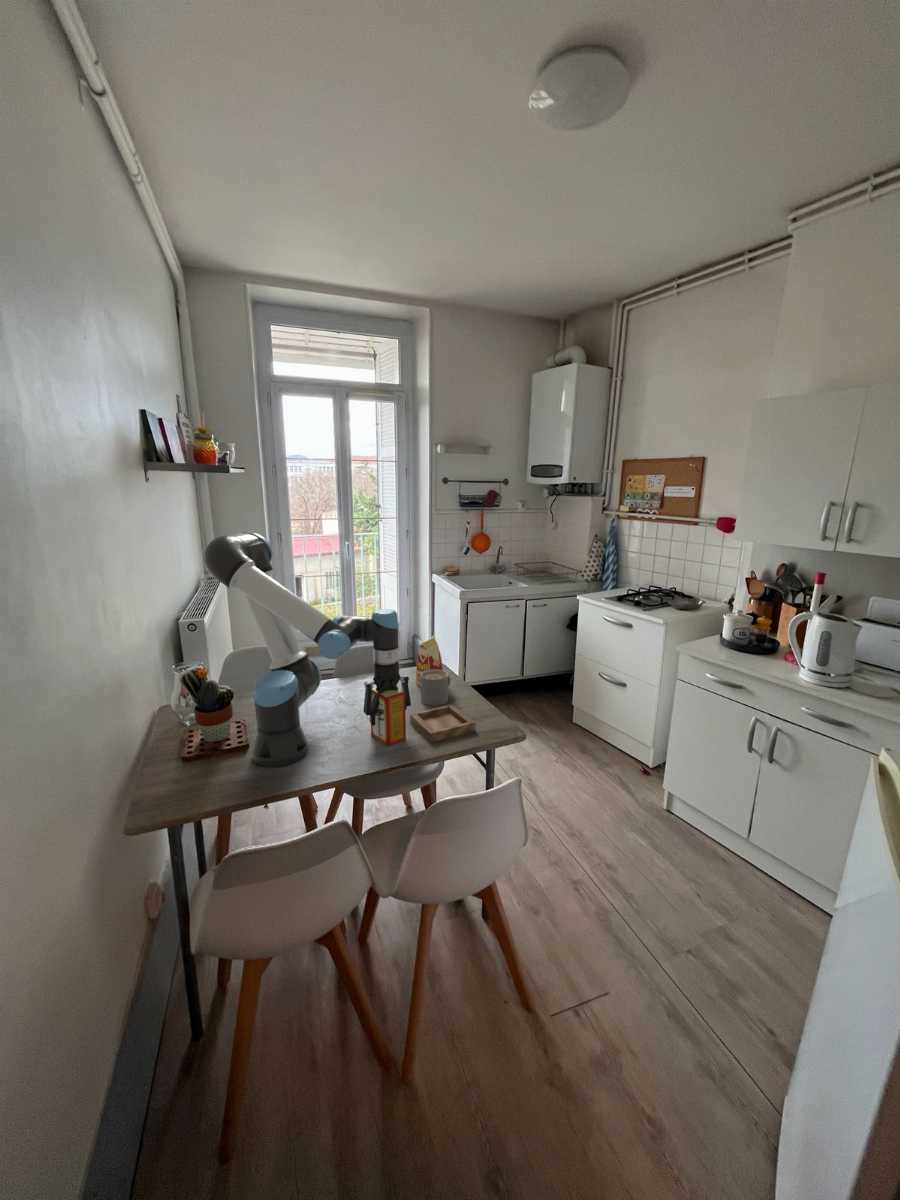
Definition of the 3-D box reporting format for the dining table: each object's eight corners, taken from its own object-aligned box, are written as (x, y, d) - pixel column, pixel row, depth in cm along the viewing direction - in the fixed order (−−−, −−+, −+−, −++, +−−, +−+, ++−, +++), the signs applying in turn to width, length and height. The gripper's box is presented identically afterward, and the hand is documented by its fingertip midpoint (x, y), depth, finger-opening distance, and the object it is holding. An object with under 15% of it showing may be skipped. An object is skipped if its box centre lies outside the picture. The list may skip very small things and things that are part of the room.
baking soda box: (371, 734, 152) (369, 687, 148) (388, 728, 156) (387, 681, 152) (388, 746, 145) (386, 696, 141) (405, 739, 149) (405, 690, 146)
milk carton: (431, 679, 197) (431, 631, 193) (445, 685, 190) (446, 637, 186) (413, 684, 192) (412, 636, 187) (427, 691, 185) (427, 641, 180)
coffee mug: (431, 708, 171) (431, 681, 169) (415, 699, 178) (415, 673, 176) (460, 698, 179) (460, 672, 177) (443, 690, 186) (444, 665, 184)
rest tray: (430, 742, 147) (430, 733, 146) (410, 722, 160) (410, 714, 159) (475, 730, 155) (475, 722, 154) (452, 712, 167) (452, 704, 167)
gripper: (357, 670, 137) (360, 744, 142) (422, 659, 147) (422, 728, 152) (349, 662, 143) (352, 733, 148) (411, 652, 153) (412, 718, 158)
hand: (388, 730), depth 150 cm, fingers closed on baking soda box, 7 cm apart
